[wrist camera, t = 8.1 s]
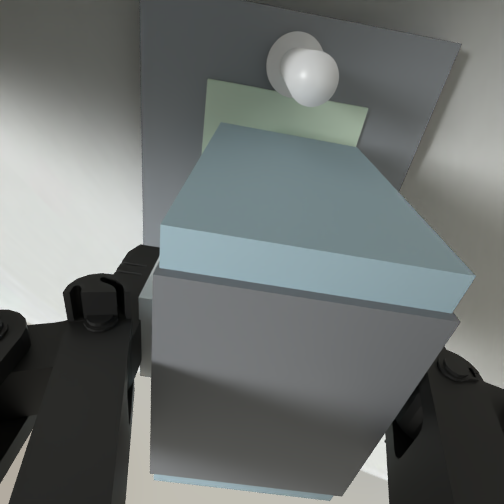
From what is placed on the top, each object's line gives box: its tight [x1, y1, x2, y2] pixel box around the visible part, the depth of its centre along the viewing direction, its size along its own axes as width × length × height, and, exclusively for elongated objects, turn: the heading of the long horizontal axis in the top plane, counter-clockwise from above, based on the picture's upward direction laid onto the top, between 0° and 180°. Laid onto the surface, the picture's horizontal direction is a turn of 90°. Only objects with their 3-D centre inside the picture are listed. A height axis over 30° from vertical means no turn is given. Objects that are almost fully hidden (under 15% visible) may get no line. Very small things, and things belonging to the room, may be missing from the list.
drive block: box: [150, 122, 476, 501], centre depth 11 cm, size 5×8×8 cm, turn 170°
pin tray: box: [140, 0, 461, 247], centre depth 14 cm, size 12×15×7 cm
